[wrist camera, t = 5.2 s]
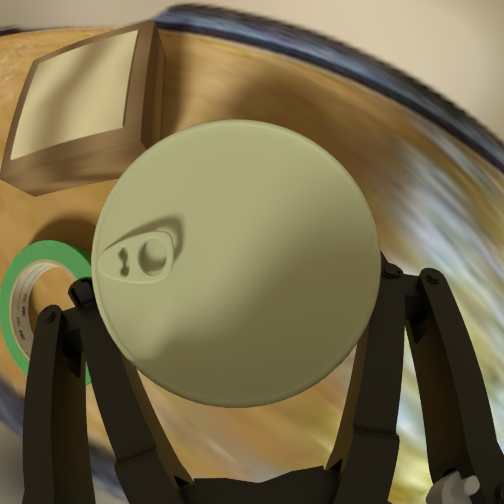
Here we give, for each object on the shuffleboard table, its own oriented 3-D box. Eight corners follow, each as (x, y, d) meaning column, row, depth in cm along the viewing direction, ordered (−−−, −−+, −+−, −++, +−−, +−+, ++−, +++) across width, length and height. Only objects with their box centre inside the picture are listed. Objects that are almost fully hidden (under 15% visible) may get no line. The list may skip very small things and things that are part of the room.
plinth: (165, 57, 22) (154, 18, 17) (160, 171, 21) (139, 139, 15) (55, 87, 21) (32, 59, 16) (34, 196, 20) (-3, 177, 15)
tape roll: (23, 239, 20) (4, 234, 17) (130, 250, 20) (116, 245, 18) (18, 364, 18) (0, 369, 16) (123, 397, 19) (109, 409, 16)
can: (168, 213, 20) (92, 128, 8) (299, 204, 21) (363, 110, 9) (175, 346, 19) (97, 412, 7) (310, 337, 20) (395, 391, 8)
